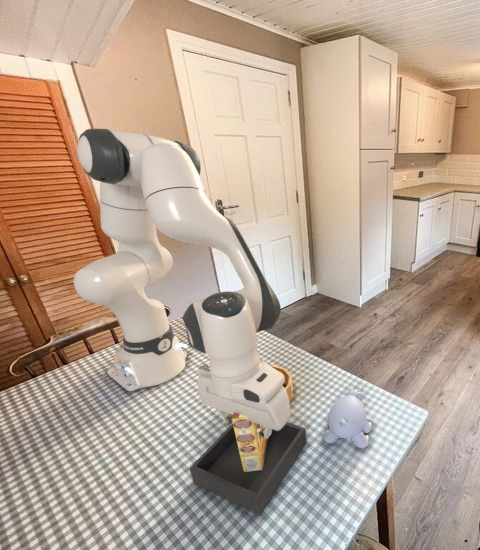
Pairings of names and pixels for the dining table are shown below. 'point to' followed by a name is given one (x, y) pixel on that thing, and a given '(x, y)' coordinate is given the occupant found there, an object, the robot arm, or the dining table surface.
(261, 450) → the candy box
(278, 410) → the robot arm
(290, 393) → the ring
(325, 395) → the dining table surface
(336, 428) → the hippopotamus toy
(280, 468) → the bin
